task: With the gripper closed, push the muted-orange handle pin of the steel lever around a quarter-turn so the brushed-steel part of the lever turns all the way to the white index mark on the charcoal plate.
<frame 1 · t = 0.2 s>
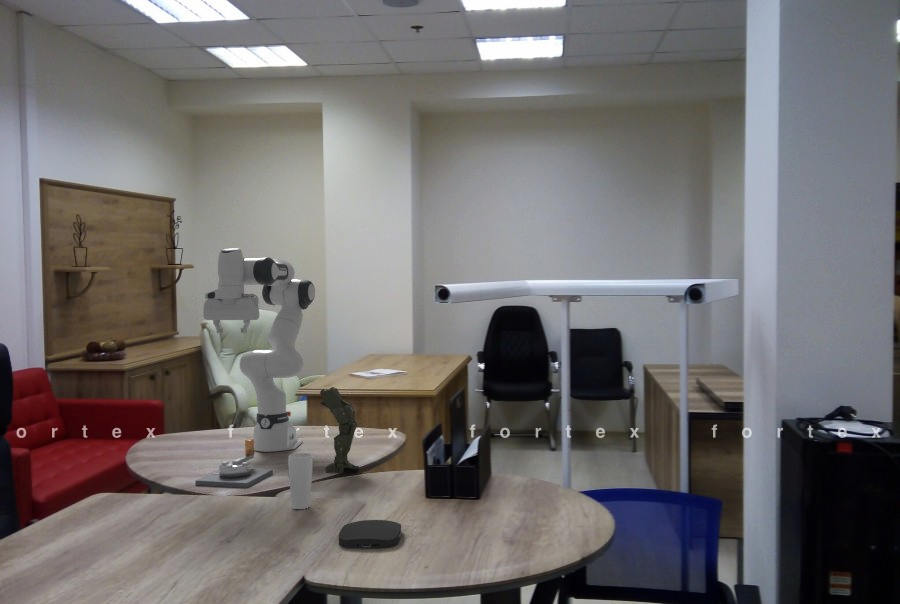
hand: (231, 333, 257), 47 cm above the table, fingers open, 8 cm apart
lever: (239, 457, 242), point 6 cm above the table, hinge at 0.0°
housing plate: (235, 479, 239), on the table
drinking glass: (301, 508, 206), on the table
media streaming box: (370, 540, 180), on the table
mechanical leg: (340, 471, 249), on the table
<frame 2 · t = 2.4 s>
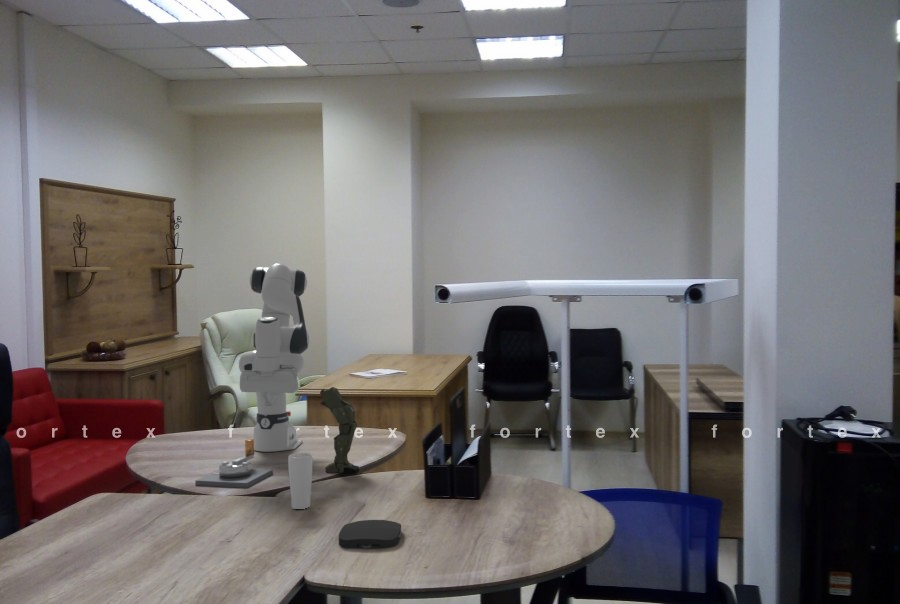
hand: (269, 405, 247), 23 cm above the table, fingers closed
nothing on the table moved.
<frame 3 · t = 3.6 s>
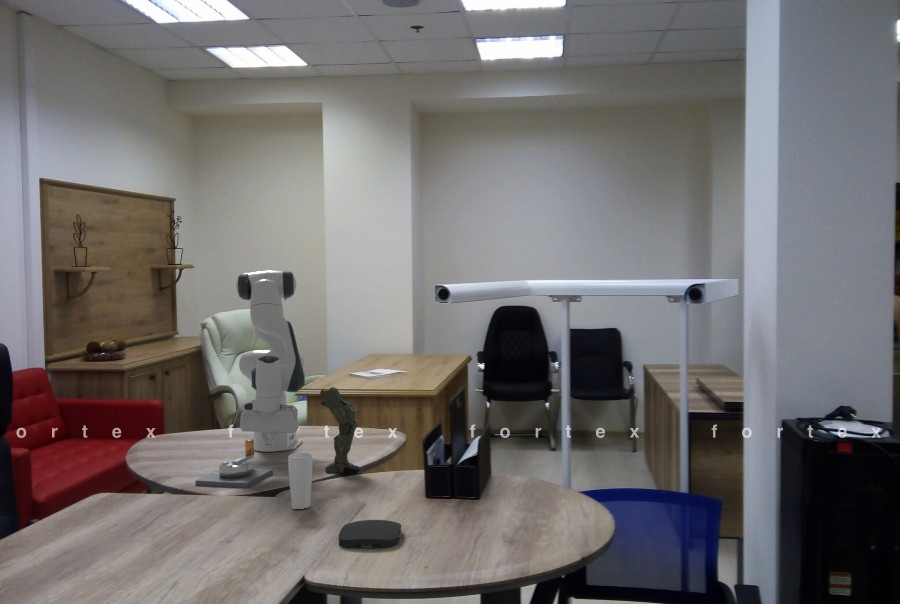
hand: (269, 445, 247), 10 cm above the table, fingers closed
nothing on the table moved.
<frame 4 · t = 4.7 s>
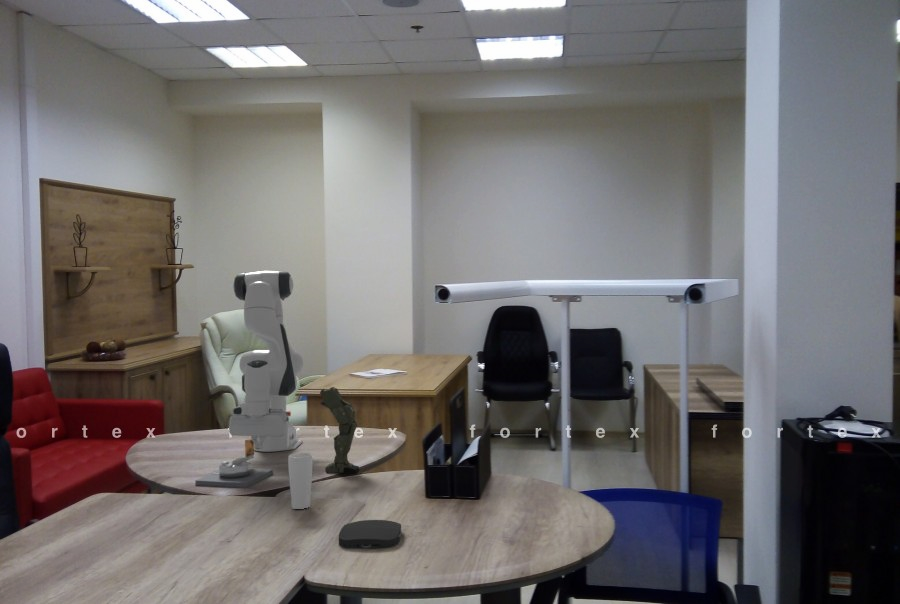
hand: (258, 448, 248), 8 cm above the table, fingers closed
lever: (239, 457, 242), point 6 cm above the table, hinge at 0.3°, touching gripper
everything else where it was.
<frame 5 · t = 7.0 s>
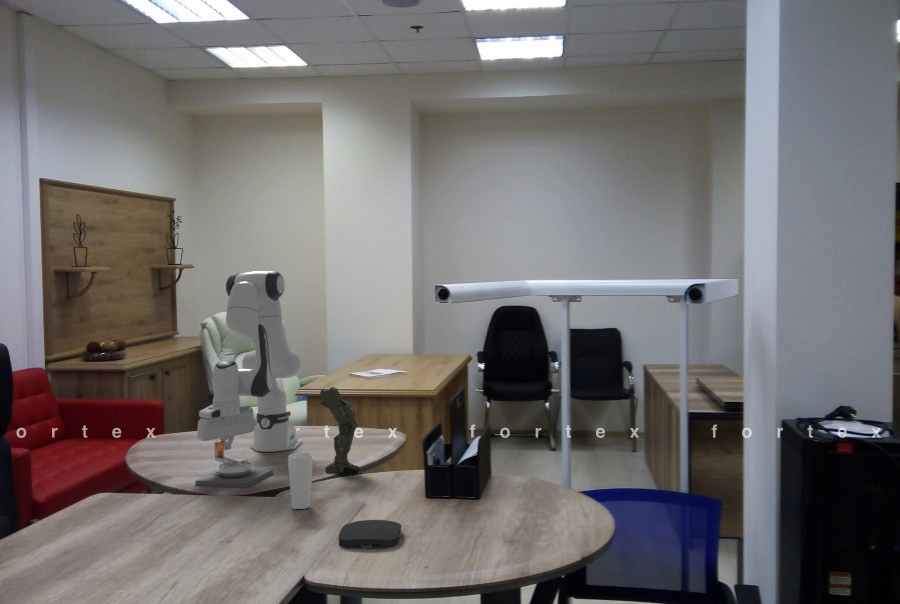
hand: (227, 449, 248), 8 cm above the table, fingers closed
lever: (229, 458, 241), point 6 cm above the table, hinge at 60.0°, touching gripper
everything else where it was.
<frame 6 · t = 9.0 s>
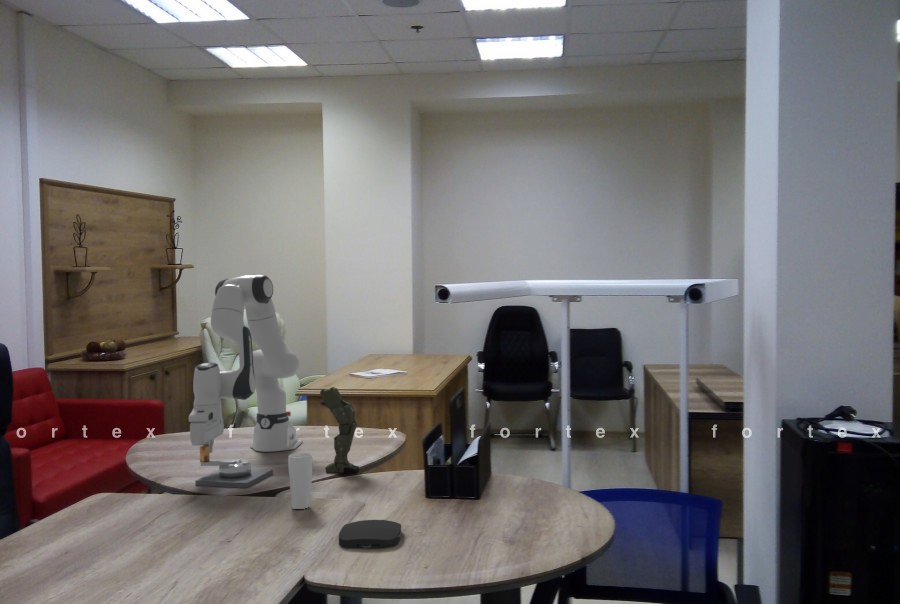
hand: (208, 453, 243), 8 cm above the table, fingers closed
lever: (225, 460, 239), point 6 cm above the table, hinge at 102.3°, touching gripper
everything else where it was.
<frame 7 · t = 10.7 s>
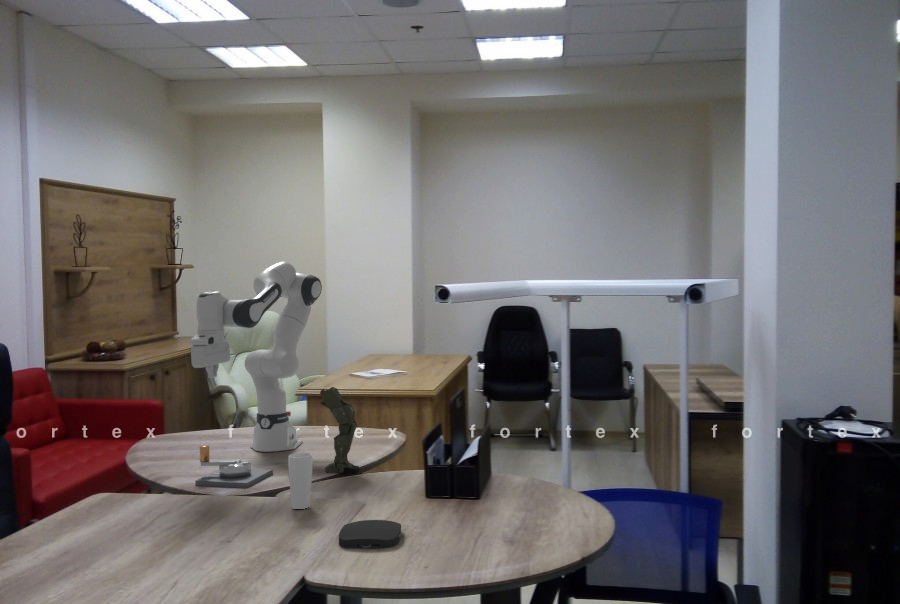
hand: (212, 377, 253), 32 cm above the table, fingers closed
lever: (225, 460, 239), point 6 cm above the table, hinge at 102.4°
everything else where it was.
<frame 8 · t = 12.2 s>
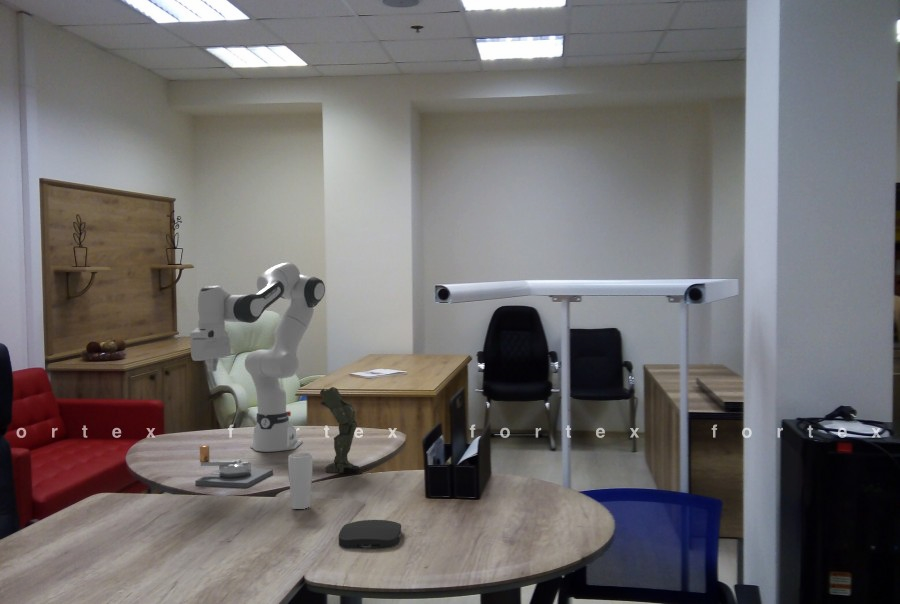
hand: (212, 371, 254), 34 cm above the table, fingers closed
nothing on the table moved.
at the end: lever at +102° (first picture: +0°) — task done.
